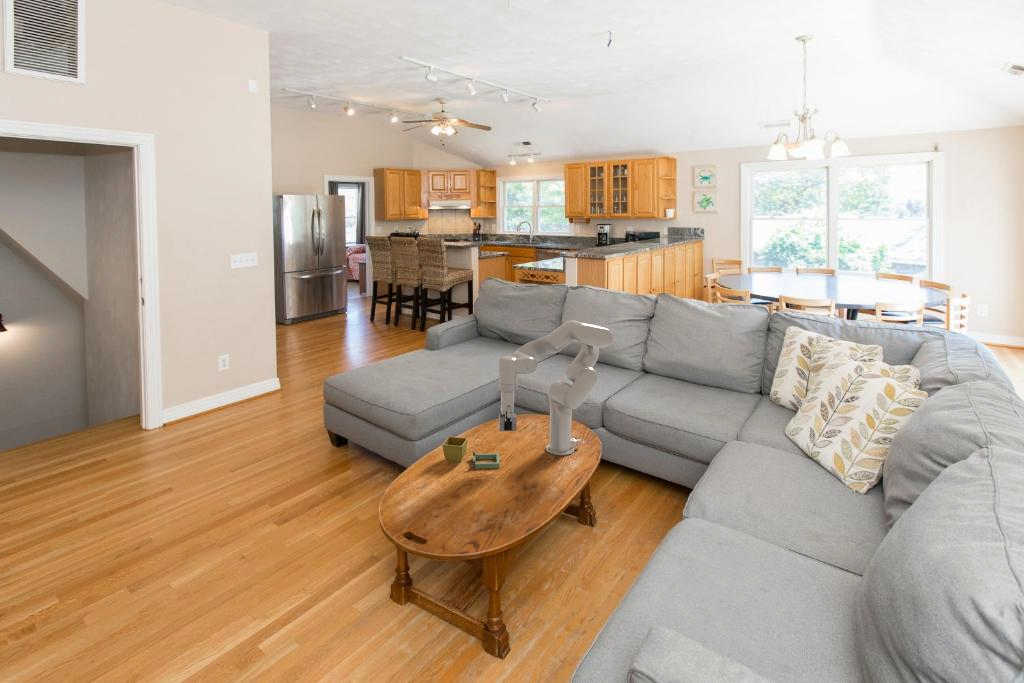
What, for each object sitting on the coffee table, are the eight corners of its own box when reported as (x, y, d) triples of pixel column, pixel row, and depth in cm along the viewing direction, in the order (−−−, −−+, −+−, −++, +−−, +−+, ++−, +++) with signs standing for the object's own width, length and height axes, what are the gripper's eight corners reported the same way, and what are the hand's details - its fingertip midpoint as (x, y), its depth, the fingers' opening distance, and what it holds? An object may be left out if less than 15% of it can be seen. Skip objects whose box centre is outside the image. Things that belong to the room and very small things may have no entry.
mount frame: (498, 457, 246) (498, 450, 245) (499, 467, 236) (499, 460, 236) (473, 458, 246) (472, 451, 245) (473, 468, 236) (472, 461, 235)
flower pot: (462, 466, 238) (462, 446, 236) (442, 464, 240) (441, 444, 238) (468, 457, 247) (467, 437, 244) (448, 455, 248) (448, 436, 246)
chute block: (515, 426, 242) (515, 411, 240) (516, 430, 237) (516, 415, 235) (498, 426, 241) (498, 411, 239) (499, 431, 236) (499, 415, 235)
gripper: (497, 380, 243) (497, 420, 247) (500, 392, 226) (499, 435, 230) (515, 380, 243) (514, 420, 247) (518, 392, 227) (518, 435, 231)
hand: (507, 427), depth 239 cm, fingers closed on chute block, 5 cm apart
